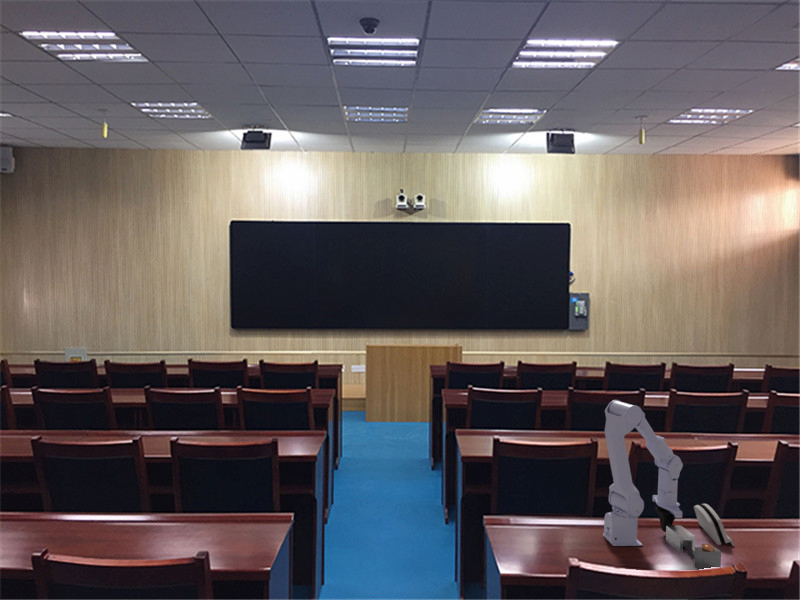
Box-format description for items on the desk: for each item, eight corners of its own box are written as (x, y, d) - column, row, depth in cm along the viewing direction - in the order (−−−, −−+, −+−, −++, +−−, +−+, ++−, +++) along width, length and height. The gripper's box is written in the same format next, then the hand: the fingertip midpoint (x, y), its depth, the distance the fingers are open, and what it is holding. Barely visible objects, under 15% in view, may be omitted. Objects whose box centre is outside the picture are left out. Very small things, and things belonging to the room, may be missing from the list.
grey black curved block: (734, 546, 182) (724, 515, 182) (719, 550, 182) (708, 519, 183) (714, 524, 198) (704, 496, 198) (700, 528, 199) (690, 500, 199)
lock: (665, 540, 184) (666, 525, 184) (680, 540, 185) (680, 525, 185) (679, 552, 176) (680, 536, 176) (694, 552, 177) (695, 536, 177)
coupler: (700, 570, 165) (701, 548, 165) (679, 553, 175) (680, 532, 175) (720, 570, 165) (721, 548, 165) (698, 553, 176) (699, 532, 176)
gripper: (692, 497, 182) (690, 540, 182) (667, 482, 196) (665, 521, 196) (670, 497, 181) (668, 540, 181) (647, 482, 196) (645, 521, 196)
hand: (665, 531), depth 189 cm, fingers closed
